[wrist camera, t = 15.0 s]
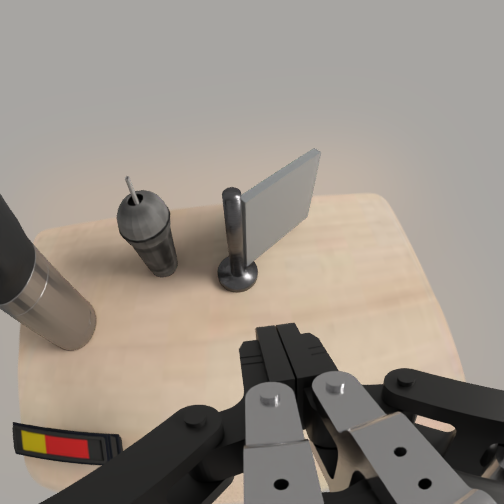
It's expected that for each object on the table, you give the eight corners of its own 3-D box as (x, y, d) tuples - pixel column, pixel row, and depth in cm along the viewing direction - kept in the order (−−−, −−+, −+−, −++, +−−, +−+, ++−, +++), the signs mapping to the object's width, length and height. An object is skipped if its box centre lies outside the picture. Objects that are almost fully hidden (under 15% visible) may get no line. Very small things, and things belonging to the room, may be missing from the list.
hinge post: (216, 291, 44) (199, 214, 30) (220, 256, 48) (207, 174, 33) (256, 293, 44) (259, 216, 29) (258, 258, 47) (260, 175, 33)
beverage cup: (174, 239, 50) (143, 143, 33) (193, 270, 46) (164, 175, 29) (136, 259, 47) (89, 170, 31) (153, 293, 44) (102, 206, 27)
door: (247, 266, 45) (245, 202, 33) (236, 256, 46) (231, 191, 34) (307, 216, 50) (321, 152, 38) (296, 209, 51) (307, 144, 39)
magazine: (39, 426, 29) (9, 421, 19) (120, 434, 35) (123, 434, 24) (41, 449, 27) (12, 453, 17) (123, 456, 33) (127, 467, 22)
